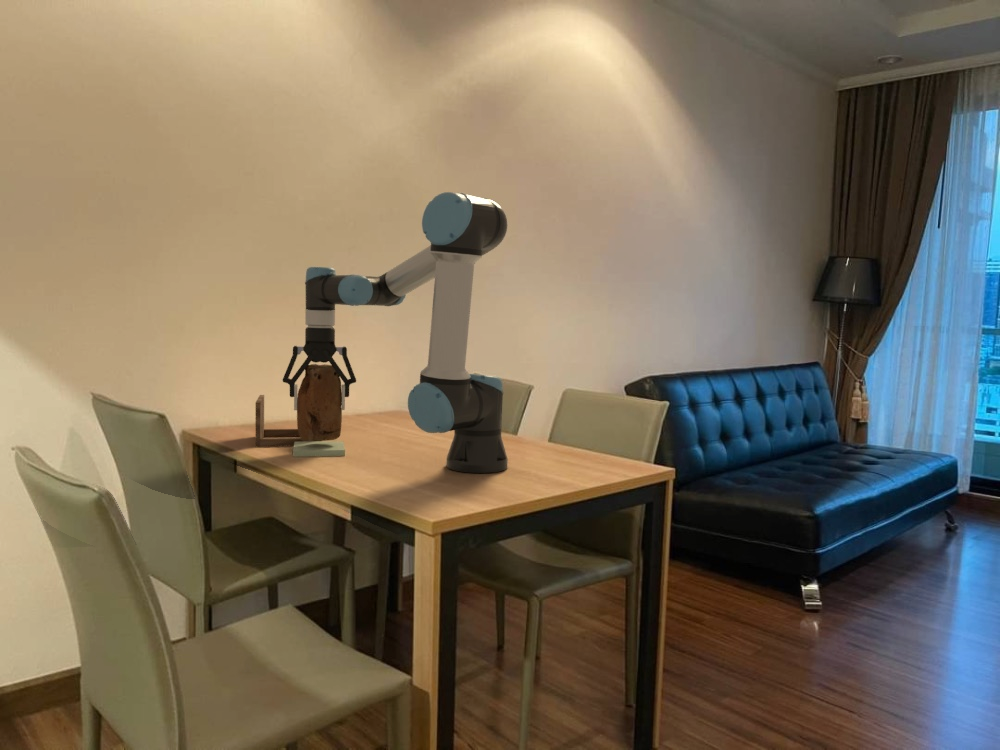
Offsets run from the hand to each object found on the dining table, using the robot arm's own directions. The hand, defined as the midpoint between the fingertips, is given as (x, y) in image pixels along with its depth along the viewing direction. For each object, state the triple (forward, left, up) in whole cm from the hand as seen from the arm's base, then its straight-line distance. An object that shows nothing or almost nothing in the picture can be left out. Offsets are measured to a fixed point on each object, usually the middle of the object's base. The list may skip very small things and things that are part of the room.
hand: (319, 409), depth 205 cm
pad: (0, 0, -11) cm, 11 cm away
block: (0, 0, -8) cm, 8 cm away
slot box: (+16, +8, -11) cm, 21 cm away
